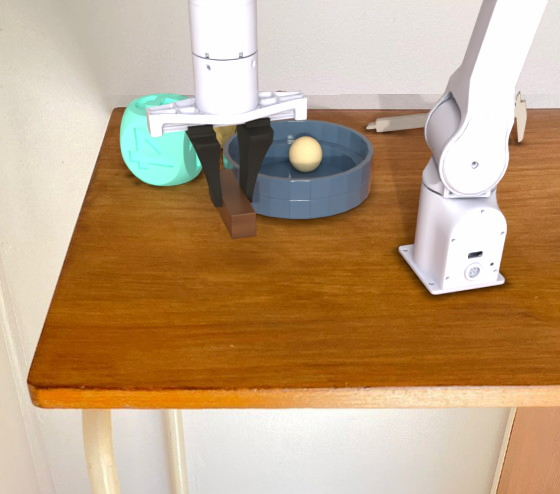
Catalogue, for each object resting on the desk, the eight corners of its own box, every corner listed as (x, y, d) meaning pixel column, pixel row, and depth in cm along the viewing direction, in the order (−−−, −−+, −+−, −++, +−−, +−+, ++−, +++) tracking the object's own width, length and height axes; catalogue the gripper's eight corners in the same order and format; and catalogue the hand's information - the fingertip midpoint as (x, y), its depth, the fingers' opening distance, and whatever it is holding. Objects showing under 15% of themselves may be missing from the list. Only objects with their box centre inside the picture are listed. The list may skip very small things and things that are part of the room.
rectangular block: (256, 236, 80) (256, 212, 79) (232, 239, 80) (231, 215, 78) (231, 191, 87) (230, 168, 86) (208, 194, 87) (207, 171, 85)
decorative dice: (185, 190, 101) (179, 121, 95) (124, 181, 102) (114, 113, 97) (209, 163, 106) (205, 96, 100) (151, 155, 108) (144, 89, 102)
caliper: (521, 141, 111) (531, 91, 106) (521, 144, 110) (531, 94, 106) (367, 128, 114) (370, 79, 110) (365, 131, 113) (369, 81, 109)
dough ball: (326, 175, 102) (327, 142, 99) (294, 179, 101) (294, 146, 99) (316, 162, 105) (317, 129, 102) (285, 166, 104) (285, 133, 101)
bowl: (391, 213, 97) (395, 169, 93) (244, 232, 93) (243, 188, 90) (343, 152, 108) (345, 112, 105) (211, 168, 105) (208, 127, 102)
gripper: (291, 28, 77) (291, 174, 87) (133, 43, 74) (150, 192, 84) (315, 52, 72) (312, 204, 82) (147, 69, 69) (163, 224, 79)
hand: (231, 200), depth 83 cm, fingers closed on rectangular block, 2 cm apart
